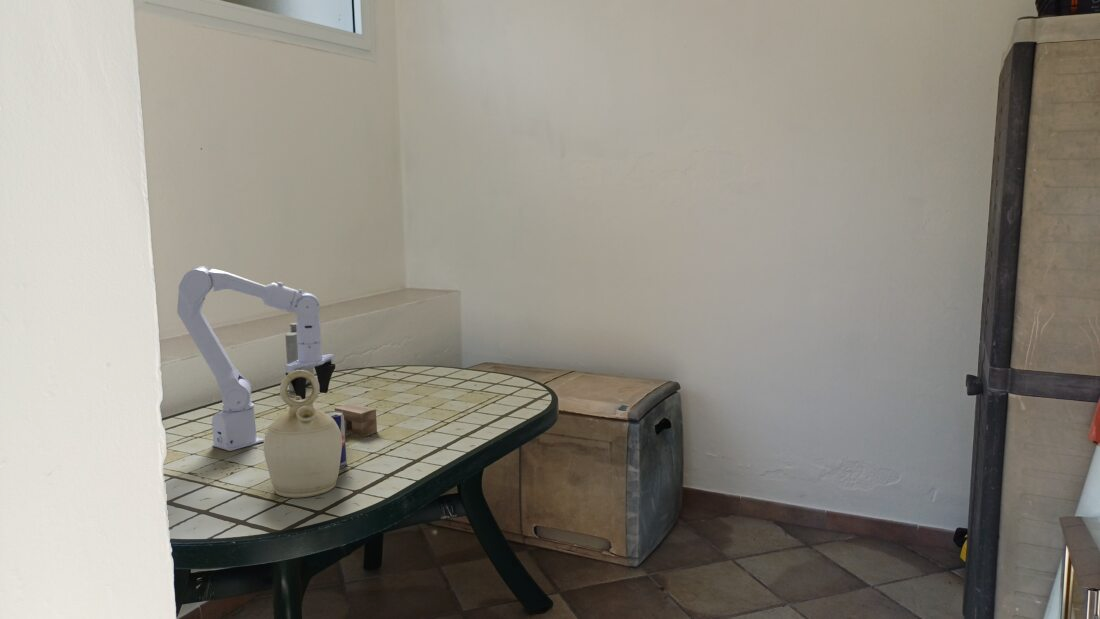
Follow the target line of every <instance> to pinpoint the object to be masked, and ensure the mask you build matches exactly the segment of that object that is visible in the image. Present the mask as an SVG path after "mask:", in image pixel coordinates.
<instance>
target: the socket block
mask: <svg viewBox="0 0 1100 619" xmlns="http://www.w3.org/2000/svg"><path fill="white" fill-rule="evenodd" d="M334 411H340V412H342V413H343V416H344V421H346V427H347V435H348V434H349V435H350V436H351V435H353V436H355V437H359V438H363V437H367V436H369V435H372V434H376V433H377V432H378V423H377V409H376V408H374V407H373V408H372V407H367V406H364V405H363V406H362V405H359V404H353V403H347V404H344V405H340V406H336V407H334Z"/></svg>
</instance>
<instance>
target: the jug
mask: <svg viewBox="0 0 1100 619" xmlns="http://www.w3.org/2000/svg"><path fill="white" fill-rule="evenodd" d="M299 377H303V378H306V379H308V380H309V381H310V382H309V383H310V384H311V387H312V389H311V392H310V394H309V395H308V396H307V397H305V399H303V400H302V398H301V397H300V396H296V395H295V397H294V399H293V398H292V397H290V396H289V393H288V389H289V383H290V382H291V381H292V380H294V379H296V378H299ZM319 390H320V386H319V382H318V378H317V376H315V375H314V373H313V374H312V373H310V372H308V371H306V370H295V371H293V372H290V373H289V374H288V375H286V374H285V376H284V378H283V379H282V380H281V383H280V385H279V396H280V398H281V400H282V401H283V402H284V403H285V404H286V405H287V406H288V407H289V408H288V411H286V412H284V413H282V414H280V415H278V417H277V418H275V419H274V420H273V421H272V422H271V423H270V424H269V426H267V427H268V428H267V431H266V432H265V436H264V438H263V439H264V441H263V454H264V460H265V462H266V467H267V470H268V474H269V477H270V481H271V484H272V486H273V489H274V492H275V494H277V495H278V496H280V497H285V498H290V499H303V498H308V497H316V496H319V495H322V494H326V493H328V492H330V491H331V490H333V489H334V488H335V487H336V485H337V481H338V476H339V473H340V469H339V467H340V460H341V451H342V436H341V432H340V429H339V427H338V425H337V424H336V422H335V420H334V419H333V418H332V417H330V416H329V415H327V414H326V413H324V412H325V411H322V410H320V409H317V408H315V407H314V405H313V404H314V402H315V401H316V400H317V399H318V397H319V395H320V392H319Z"/></svg>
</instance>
